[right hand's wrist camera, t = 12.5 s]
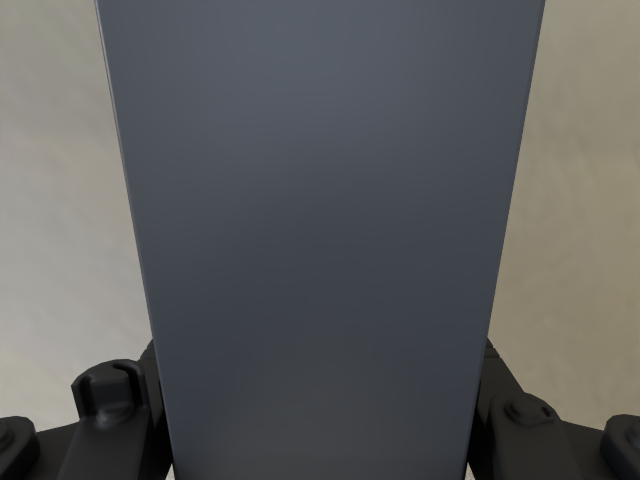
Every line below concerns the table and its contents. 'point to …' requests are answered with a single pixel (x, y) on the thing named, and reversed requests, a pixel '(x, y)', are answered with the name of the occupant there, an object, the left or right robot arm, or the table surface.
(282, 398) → the bar
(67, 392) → the table surface
